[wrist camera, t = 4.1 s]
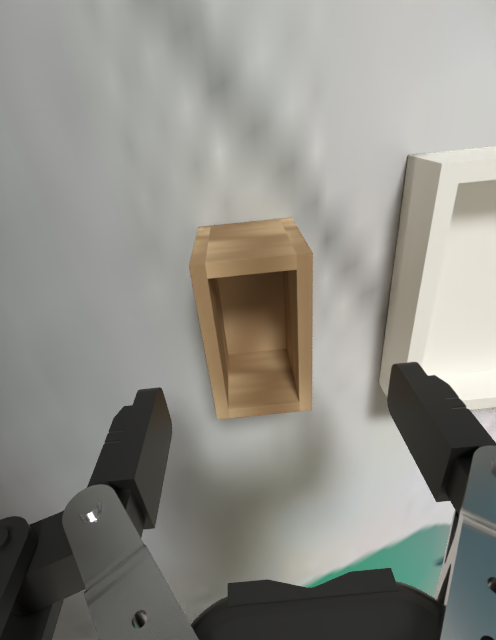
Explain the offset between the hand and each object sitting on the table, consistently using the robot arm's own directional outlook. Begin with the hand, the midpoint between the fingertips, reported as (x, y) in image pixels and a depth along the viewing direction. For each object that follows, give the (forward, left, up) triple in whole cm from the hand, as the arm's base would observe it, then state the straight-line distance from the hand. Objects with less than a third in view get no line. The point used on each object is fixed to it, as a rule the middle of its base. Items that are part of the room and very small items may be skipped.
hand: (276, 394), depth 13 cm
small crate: (0, 0, -8) cm, 8 cm away
